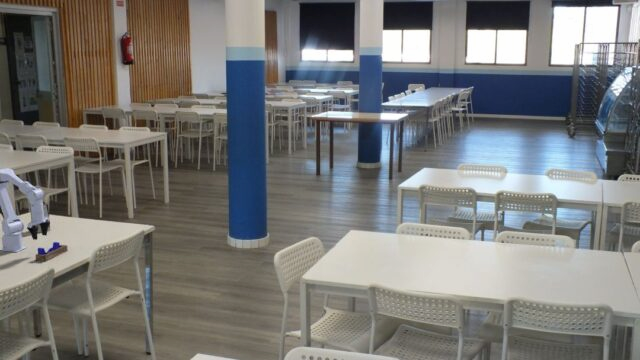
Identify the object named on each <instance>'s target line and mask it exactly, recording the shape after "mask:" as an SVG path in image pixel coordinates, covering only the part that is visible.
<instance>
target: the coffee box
mask: <svg viewBox="0 0 640 360" xmlns="http://www.w3.org/2000/svg"><path fill="white" fill-rule="evenodd" d="M29 212H30V219H31V220H30V222H31V221H32V212H31V204H29ZM43 212H44V217H49V218H50V213H49V212H50V211H49V203H44V202H43ZM35 226H36V227H39V228H38V232H37V233H40V234H42V231H41V227H40V224H38V225H35ZM50 231H51V223H50V224H49V227H48V230H47V232H50Z"/></svg>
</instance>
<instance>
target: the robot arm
mask: <svg viewBox="0 0 640 360" xmlns="http://www.w3.org/2000/svg"><path fill="white" fill-rule="evenodd" d="M9 183H11V184H13V185H15V186H17V188H18V190H19V191H20V192H21V193H23V194H24V195H25V196H26V197H27V199H28V202H29V205H31V212H32V221H31V220H30V222H28V223H27V226H26V229H27V230H28V231H29V233H30V235H31V237H32V240H34V241H36V240H38V233H39V232H38V228H39V227H36V226H35V225H38V224H40V227H41V231H42V233H41V235H42V236H46V237H47V235H48V231H47V230H48V227H49V224H50V225H51V221H50V216H49V217H44V212H43V203H44V202H43V200H44V198H45V194H46V193H45V191H44V190H43V189H42V188H41V187H38V188H37V187H35V186H34V185H32V184H31V183H30V181H26V180H25V181H23V180H22V179H21V178H19V176H17V175H16V174H15V172H14V170H13V169H12V168H10V167H6V168H1V169H0V209H1V211H2V214H3V217H4V218H3V219H2V221H1V222H0V223H1V231H2V233H3V235H2V237H1V244H2V250H1V251H2V252H9V253H10V252H13V253H18V252H20V251H23V250H24V249H27V246H23V237H22V233H23V231H24V229H25V224H24V221H23V220H22V219H21V217H20V216H18V215H17V214H16V213H15V210H14V208H13V204H12V202H11V199H10V197H9V196H10V195H9V193H8V189H7V188H6V187H7V185H8V184H9ZM31 212H30V213H31Z"/></svg>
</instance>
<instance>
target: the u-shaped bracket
mask: <svg viewBox="0 0 640 360" xmlns="http://www.w3.org/2000/svg"><path fill="white" fill-rule="evenodd" d="M67 252H68V245H66V244H60V248H58V249H56V250H54V251H52V252H50V253H48V254H46V255H42V254H38V253H37V254H35V261H36V262H37V261H38V262H47V261H50V260H53V259H55V258H56V257H58V256H61V255H62V254H64V253H67Z"/></svg>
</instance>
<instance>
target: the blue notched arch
mask: <svg viewBox="0 0 640 360" xmlns="http://www.w3.org/2000/svg"><path fill="white" fill-rule="evenodd" d="M60 245H61V244H60V242H58V241H54V242H52V247H50V248H49V249H48V250H47V251H46V250H45V247H38V248H37V254H42V255H46V254H48V253H50V252H52V251H54V250H56V249H58V248H60Z"/></svg>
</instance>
